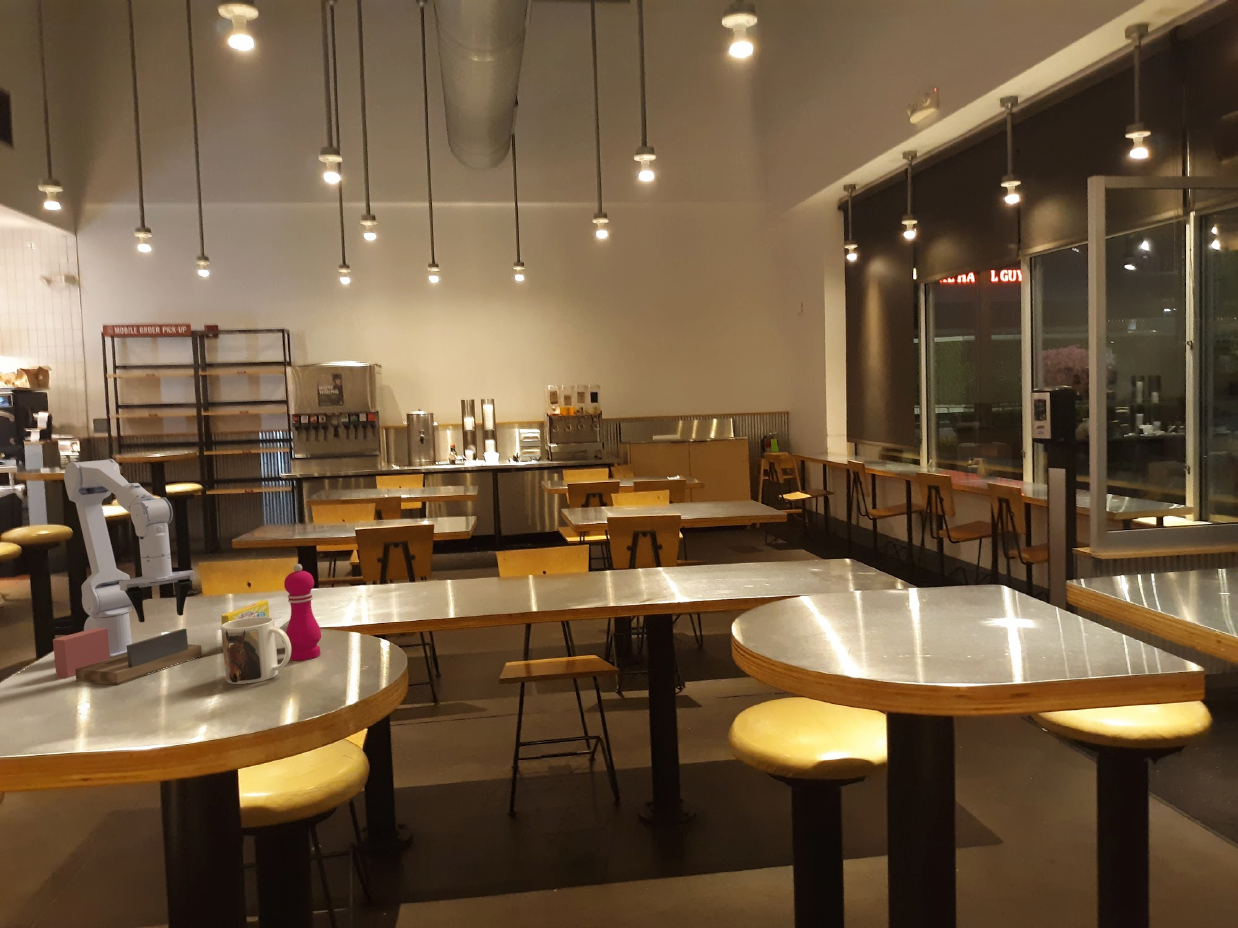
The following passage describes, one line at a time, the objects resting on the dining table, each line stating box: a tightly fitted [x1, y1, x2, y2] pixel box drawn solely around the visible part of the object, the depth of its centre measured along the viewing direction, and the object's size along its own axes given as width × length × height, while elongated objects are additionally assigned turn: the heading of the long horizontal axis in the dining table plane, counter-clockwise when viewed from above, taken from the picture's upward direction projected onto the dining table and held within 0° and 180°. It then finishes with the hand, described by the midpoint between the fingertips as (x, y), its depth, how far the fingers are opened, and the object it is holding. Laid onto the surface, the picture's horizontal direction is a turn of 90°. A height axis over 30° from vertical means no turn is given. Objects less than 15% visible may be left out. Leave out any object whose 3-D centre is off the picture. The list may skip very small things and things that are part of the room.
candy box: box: [220, 600, 270, 626], centre depth 217 cm, size 16×2×8 cm, turn 168°
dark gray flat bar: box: [126, 628, 189, 668], centre depth 197 cm, size 1×14×4 cm, turn 157°
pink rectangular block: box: [52, 628, 111, 679], centre depth 200 cm, size 4×10×8 cm, turn 157°
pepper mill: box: [283, 563, 322, 661], centre depth 200 cm, size 7×7×20 cm
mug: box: [220, 616, 292, 685], centre depth 186 cm, size 10×12×11 cm
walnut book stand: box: [75, 643, 203, 686], centre depth 199 cm, size 12×21×2 cm, turn 157°
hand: (161, 618), depth 202 cm, fingers open, 7 cm apart
